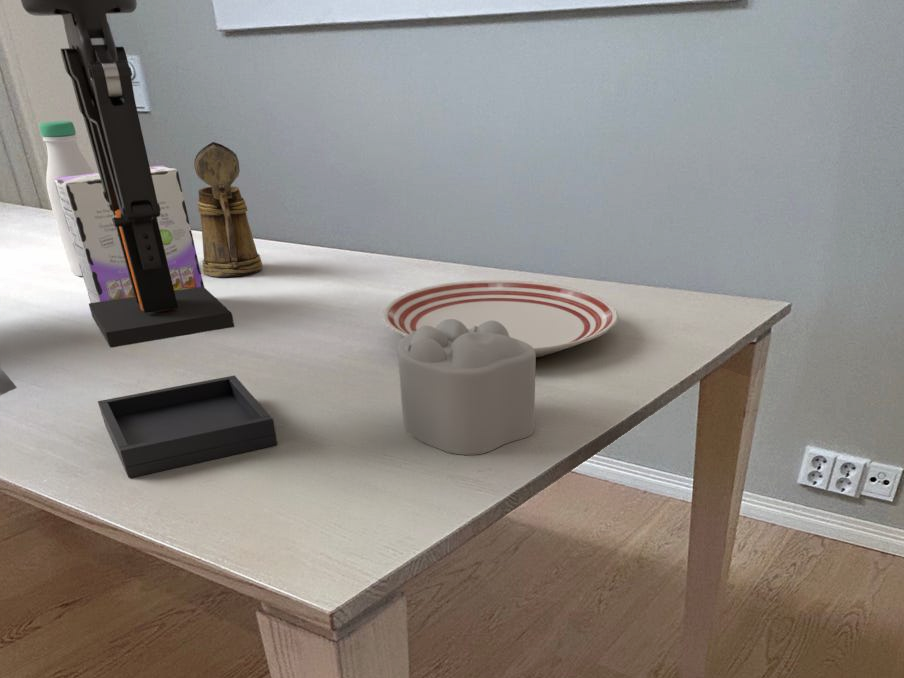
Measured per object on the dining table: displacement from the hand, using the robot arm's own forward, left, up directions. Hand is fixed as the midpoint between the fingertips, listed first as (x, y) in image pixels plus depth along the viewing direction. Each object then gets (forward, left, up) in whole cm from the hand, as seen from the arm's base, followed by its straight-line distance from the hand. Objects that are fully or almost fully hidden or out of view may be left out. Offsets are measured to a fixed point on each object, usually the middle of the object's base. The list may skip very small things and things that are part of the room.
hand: (156, 303), depth 70 cm
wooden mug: (-59, +20, -12) cm, 63 cm away
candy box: (-45, +5, -12) cm, 47 cm away
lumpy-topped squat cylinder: (+11, +23, -12) cm, 28 cm away
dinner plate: (-10, +39, -12) cm, 42 cm away
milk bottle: (-73, +2, -12) cm, 74 cm away
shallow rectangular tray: (0, 0, -12) cm, 12 cm away
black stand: (0, 0, -2) cm, 2 cm away
